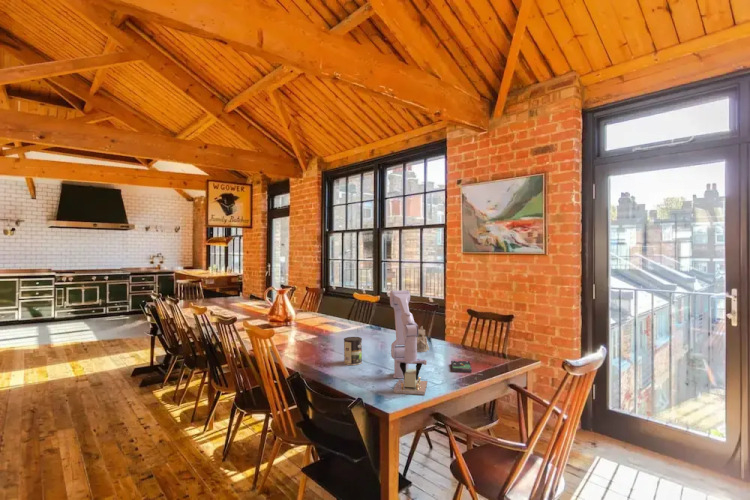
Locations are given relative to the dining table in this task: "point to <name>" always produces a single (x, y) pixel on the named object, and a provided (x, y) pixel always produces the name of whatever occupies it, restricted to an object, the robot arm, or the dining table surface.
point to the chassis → (418, 390)
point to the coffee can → (352, 350)
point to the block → (410, 378)
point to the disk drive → (461, 366)
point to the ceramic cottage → (422, 341)
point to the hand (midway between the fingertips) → (411, 379)
